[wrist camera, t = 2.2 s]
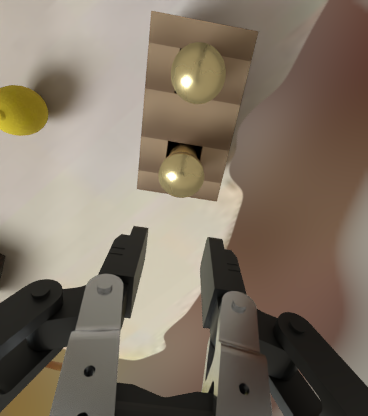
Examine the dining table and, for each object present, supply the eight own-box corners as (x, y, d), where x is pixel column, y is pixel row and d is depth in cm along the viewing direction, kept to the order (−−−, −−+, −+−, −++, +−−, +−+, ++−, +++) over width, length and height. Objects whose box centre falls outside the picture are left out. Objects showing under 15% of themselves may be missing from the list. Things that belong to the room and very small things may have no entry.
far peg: (169, 129, 30) (161, 150, 21) (203, 134, 30) (208, 158, 21) (165, 161, 32) (156, 193, 23) (197, 166, 32) (199, 200, 23)
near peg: (180, 50, 26) (175, 37, 17) (218, 57, 26) (231, 47, 18) (174, 92, 28) (167, 99, 19) (210, 98, 28) (219, 108, 19)
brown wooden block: (163, 30, 30) (151, 10, 21) (238, 45, 30) (258, 31, 21) (149, 162, 37) (136, 189, 28) (210, 171, 37) (216, 201, 28)
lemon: (66, 121, 34) (34, 132, 27) (32, 134, 35) (-8, 148, 28) (44, 77, 32) (2, 78, 25) (7, 93, 33) (-43, 97, 26)
